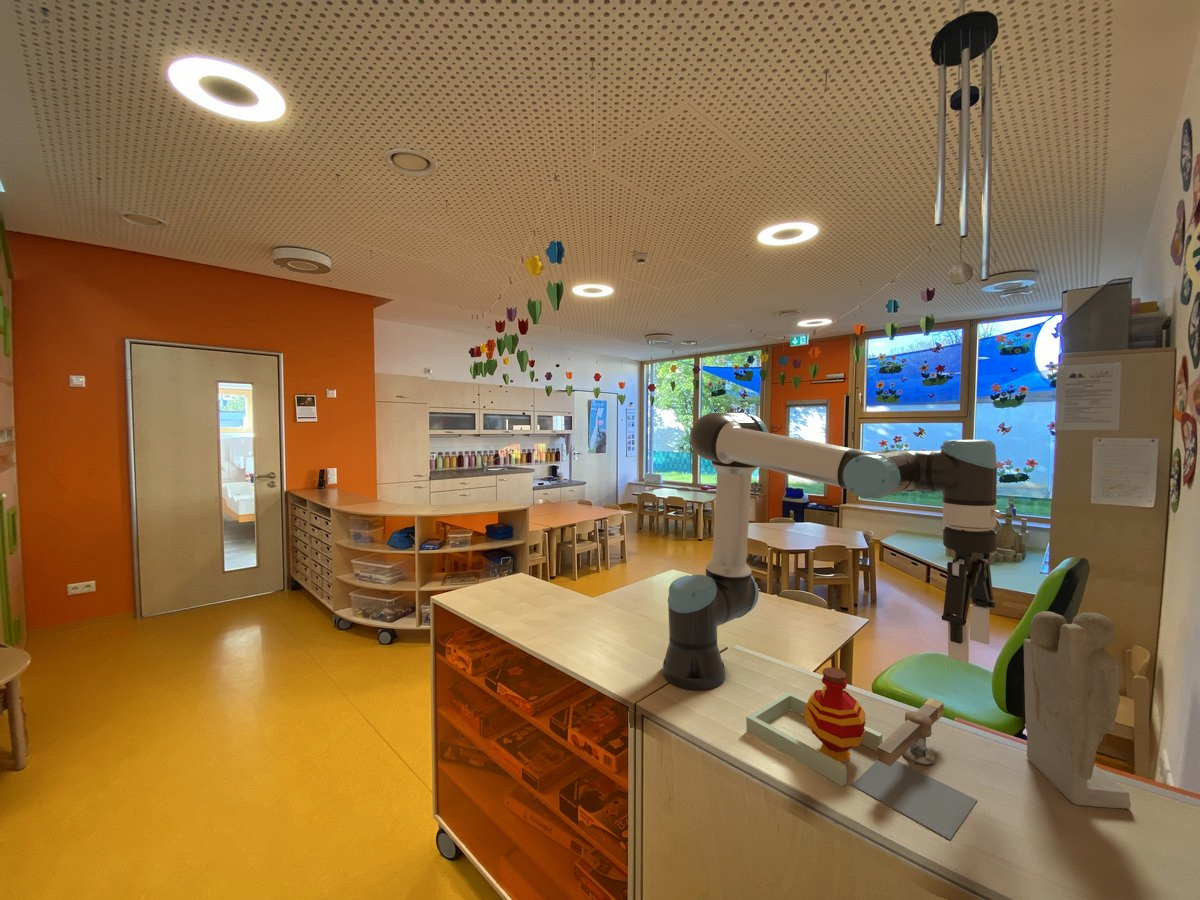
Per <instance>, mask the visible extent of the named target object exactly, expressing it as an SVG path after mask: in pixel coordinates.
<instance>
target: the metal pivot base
mask: <svg viewBox="0 0 1200 900" xmlns="http://www.w3.org/2000/svg"><path fill="white" fill-rule="evenodd" d="M902 755H903V756H904V757H905V758H906V759H907V760H908V761H910V762H912V763H914V764H917V765H919V766H927V767H928V766H933V765H934V764H935V762H936V757H935V755H934V753H933V752H932V751H931V750H929V749H927V737H919V738H918V739H917V740H916V741H915V742H914V743H913V744H912V745H911V746H910V747H909V748H908V749H907V750H906V751H905V752H904V753H903V754H902Z"/></svg>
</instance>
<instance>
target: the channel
mask: <svg viewBox="0 0 1200 900" xmlns="http://www.w3.org/2000/svg"><path fill="white" fill-rule="evenodd" d="M807 702H808V699H806V698H804V697H802V696H800V695H797V694H795V693H793V692H791V691H787V692H784V693H783V694H781V695H779V696H778V697H776V698H775V699H773V700H771V701H770V702H768V703H767V704H765V705H763V706H761V707H760V708H758V709H757V710H755V711H754V712H752V713H749V714H748V715H747V716H746V718H745V719H746V721H745V722H746V725H745V726H746V732H747V731H748V732H750V733H751V734H750V733H749V734H750V735H752V734H753V735H752V736H754V737H755V736H756V738H757V737H758V739H759V740H761V741H762V742H764V743H766V744H768V745H770V746H772V747H773V748H775V749H777V750H778V751H780V752H782V753H784V754H786V755H787V756H788V757H791V758H792V759H794V760H796V761H798V762H799V763H801V764H802V765H804V766H806V767H807V768H810V769H812V770H813V771H815V772H817V773H819V774H820V775H822V776H824V777H826V778H827V779H829V780H831V781H833V782H835V783H837V785H839V786H842V787H844V786H845V785H847V765H846V764H844V763H842V762H841V761H836V760H834V759H832V758H831V757H829V756H827V755H825V754H823V753H822V752H821V751H820V750H817V749H815V748H813V747H812V746H810V745H808V744H806V743H805V742H802V741H800V740H799V739H797V738H794V737H793V736H791V735H789V734H788V733H786V732H784V731H782V730H780V729H778V728H777V727H774V726H772V725H771V724H770V723H771V722H773V721H774V720H776V719H777V718H779V717H780V715H781V716H783V713H784V714H785V713H787V712H789V711H790V710H791V709H792V710H791V711H793V710H794V711H793V712H795V711H796V712H795V713H797V712H798V714H799V713H801V714H803V715H804V713H805V708H806V704H807ZM789 709H790V710H789ZM786 711H787V712H786ZM801 714H800V715H801ZM803 715H802V716H803ZM864 728H865V733H864V736H863V738H862V741H861V744H860V745H863V746H865V747H867V748H870V749H872V750H873V751H875V752H877V747H878V746H879V745H880V744H881V743H882V742H883V733H881V732H879V731H876V730H875V729H872V728H870V727H868V726H866V725H865V726H864ZM748 732H747V733H748ZM861 736H862V735H861Z"/></svg>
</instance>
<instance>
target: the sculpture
mask: <svg viewBox="0 0 1200 900" xmlns="http://www.w3.org/2000/svg"><path fill="white" fill-rule="evenodd" d="M1114 624H1115V623H1114V622H1113V620H1111V619H1110V618H1109V617H1108V616H1106V615H1104V614H1101V613H1098V612H1085V611H1084V612H1081V613H1078V614H1077V615H1075V616H1074V617H1073V619H1072V623H1068V622H1067V619H1066V618H1065V617H1064V616H1063V615H1061V614H1058V613H1056V612H1053V611H1050V610H1048V611H1040V612H1037V613H1035V614H1034V615H1033V617H1032V619H1031V622H1030V627H1029V638H1024V639H1023V670H1024V674H1023V675H1024V681H1023V682H1024V684H1023V685H1024V715H1025V718H1024V719H1025V730H1026V758H1027V759H1028V761H1030V762H1031V764H1032V765H1033V766H1034V767H1036V768H1037V769H1038V770H1039V771H1040V772H1041V773H1042V775H1044V776H1045V778H1047V779H1048V780H1049V781H1050V782H1051V783H1052V784H1053V786H1055V787H1056V789H1058V791H1059V792H1061V793H1062V794H1063V795H1064V796H1065V797H1066V798H1067V800H1069V801H1070V802H1071V804H1074V805H1076V806H1084V807H1097V808H1110V809H1111V808H1112V809H1125V808H1126V809H1127V810H1128V809H1131V799H1130V793H1129V792H1128V791H1127V790H1126V789H1125V788H1124V787H1122V786H1121V785H1120V784H1119V783H1118V782H1116V781H1115V780H1114V779H1113V778H1111V776H1109V775H1108V774H1107V773H1106V772H1104V771H1103V770H1102V769H1101V768H1100V767H1098V766H1097V765H1096V764H1095V763H1096V757H1097V750H1098V749H1099V748H1098V747H1099V745H1100V744H1101V743H1102V742H1103V739H1104V736H1106V735H1107V734H1108V732H1109V731H1115V728H1116V724H1117V723H1116V717H1117V713H1118V709H1119V706H1120V701H1121V697H1120V688H1121V685H1120V683H1121V681H1120V680H1121V679H1120V678H1121V677H1120V673H1121V671H1120V662H1119V661H1118V659H1117V658H1116V657H1115V656H1113V655H1112V654H1111V653H1109V651H1107V650H1106V649H1105V648H1106V647H1108V646H1110V645H1112V644H1114V643H1115V639H1116V636H1115V632H1114V631H1115V628H1114V626H1115V625H1114ZM1094 765H1095V766H1094ZM1096 766H1097V767H1096Z"/></svg>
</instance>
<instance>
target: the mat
mask: <svg viewBox="0 0 1200 900" xmlns="http://www.w3.org/2000/svg"><path fill="white" fill-rule="evenodd" d="M851 786H852V787H854V788H855V789H857V790H860V791H861V792H863V793H865V794H866V795H868V796H869V797H870V796H871V797H872V798H873V799H875V800H878V801H879V802H881V803H883V804H884V805H886V806H888V807H890V808H891V809H893V810H895V811H897V812H898V813H901V814H903V815H904V816H906V817H908V818H909V819H911V820H913V821H915V822H916V823H918V824H920V825H922V826H923V827H925V828H927V829H929V830H931V831H933V832H934V833H936V834H938V835H940V836H942V837H944V838H945V839H947V840H949V841H951V840H952V838H953V837H954V836H955V834H956V833H957V831H958V830H959V828H960V827H961V826H962V824H963V822H964V821H965V819H966V818H967V817H968V815H969V814H970V813H971V810H972V809H973V808H974V806H976V804H977V802H978V799H976V798H974V797H972V796H970V795H968V794H966V793H964V792H962V791H960V790H958V789H956V788H954V787H952V786H950V785H948V784H946V783H944V782H942V781H939V780H937V779H935V778H933V777H931V776H929V775H927V774H925V773H922V772H921V771H919V770H916V768H913V767H910V766H909V765H906V764H905V763H902V762H900V761H898V760H896V761H895V762H894V763H893V764H892V765H891V766H888V765H886V764H884V763H882V762H880V761H878V760H876V761H875V762H874V763H873V764H872V765H870V767H869V768H867V769H866V771H864V772H863V773H862V775H860V776H859V777H858V778H857V779H855V781H854V782H853V783H852V784H851Z"/></svg>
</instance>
